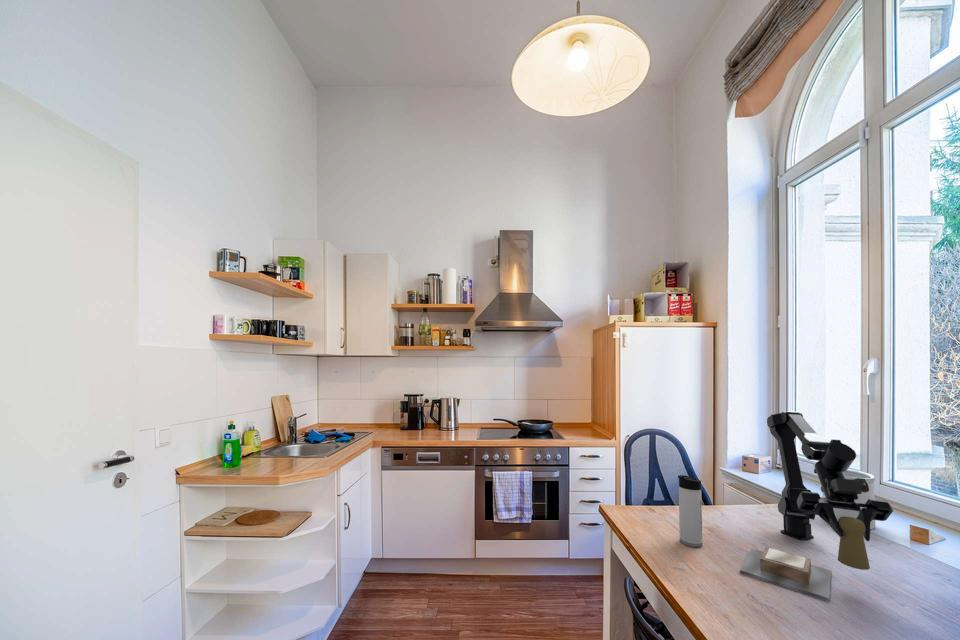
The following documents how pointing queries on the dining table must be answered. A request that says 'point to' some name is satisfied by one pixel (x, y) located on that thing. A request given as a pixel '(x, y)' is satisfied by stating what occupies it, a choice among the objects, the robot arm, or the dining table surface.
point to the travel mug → (690, 511)
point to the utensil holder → (861, 497)
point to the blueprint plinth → (811, 590)
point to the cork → (852, 544)
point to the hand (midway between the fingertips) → (854, 538)
